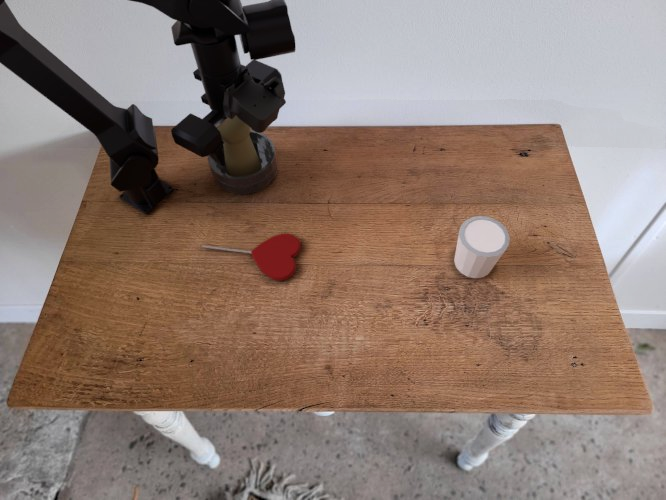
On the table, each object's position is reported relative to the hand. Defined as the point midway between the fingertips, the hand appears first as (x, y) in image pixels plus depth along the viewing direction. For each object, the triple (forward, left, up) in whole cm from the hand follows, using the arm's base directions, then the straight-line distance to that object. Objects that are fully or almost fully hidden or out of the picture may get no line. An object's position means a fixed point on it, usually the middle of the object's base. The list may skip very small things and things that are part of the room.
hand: (240, 147), depth 78 cm
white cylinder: (+40, +4, -6) cm, 41 cm away
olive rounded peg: (0, 0, -5) cm, 5 cm away
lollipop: (+11, -13, -6) cm, 18 cm away
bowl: (0, 0, -6) cm, 6 cm away
